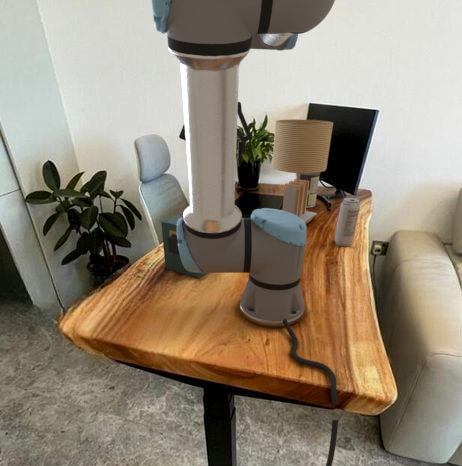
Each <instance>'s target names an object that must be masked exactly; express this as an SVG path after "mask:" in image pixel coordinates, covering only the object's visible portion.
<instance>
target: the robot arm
mask: <svg viewBox="0 0 462 466" xmlns="http://www.w3.org/2000/svg"><path fill="white" fill-rule="evenodd" d="M335 1H336V0H151V7H152V8H151V9H152V14H153V15H152V16H153V24H154V25H153V26H154V28H155V30H156V31H157V32H159V33H160V34H166V36H167V37H166V39H167V48H168V51H169V53H171V54H172V55H173V56H174V58H176V60H177V61H178V63H179V66H180V76H181V77H180V79H181V93H182V107H183V120H184V121H183V122H184V123H183V126H182V127H181V131H180V132H179V136H178V138H179V139H180V140H183V141H184V142H185V149H186V162H187V163H186V165H187V179H188V180H187V181H188V194H189V205H188V206H187V207H186V208H185V209H184V211H183V213H182V216H183V217H182V218H180V219H179V220H178V222H177V240H178V249H179V254H180V258H181V261H182V264H183V266H184V268H185V269H186V270H187V271H189V272H195V273H205V275H206V274H248V280H247V282H246V285H245V287H244V289H243V292H242V294H241V297H240V300H239V312H240V315H242V317H243V318H244V319H246V320H247V321H248V322H250V323H252V324H254V325H256V326H260V327H264V328H272V329H277V328H278V329H279V328H285V329H286V331H287V333H288V334H289V336H290V338H291V340H292V347H291V350H290V355H291V357H292V358H293V359H294V361H296V362H297V363H299V364H301V365H305V366H310V367H314V368H317V369H320V370H323V371H324V372H325V373H326V374H327V375H328V376H329V380H330V397H331V403H332V405H333V406H338V404H339V401H338V390H337V386H338V385H337V377H336V375H335V373H334V372H333V370H332V369H331V368H330V367H328V365H326V364H324V363H322V362H319V361H316V360H315V361H314V360H310V359H306V358H302V357H301V356H299V355H298V354H297V349H298V344H299V341H298V338H297V336H296V334H295V332H294V330H293V328H292V326H293V325H296V324H297V323H299V322H300V321H301V320H302V319H303V317H304V316H305V315H304V314H305V309H306V304H305V300H304V295H303V289H302V286H301V277H302V273H303V272H302V271H303V263H304V258H305V249H306V245H307V233H308V232H307V229H308V228H307V224H305V222H304V221H303V220H302V219H301V218H300V217H298V216H296V215H294V214H292V213H289V212H286V211H282V210H283V209H277V208H268V207H263V208H257V209H254V210H252V212H251V214H250V217H243V214H242V210H241V209H240V208H239V207H238V206H237V205H236V204H235V201H236V200H235V197H236V173H237V172H236V171H237V167H238V168H241V167H242V155H245V154H246V143H247V142H248V141H250V140H252V139H253V136H252V132H251V130H250V128H249V126H248V123H247V120H246V118H245V116H244V113H243V111H242V102H241V101H239V81H240V80H239V79H240V77H239V76H240V64H241V63H242V61H243V60H244V59H245V58H246V57H247V56H248V55H249V53H250V52H251V50H267V51H268V50H270V51H280V52H281V51H285V50H286V51H288V50H290V51H291V50H293V49H295V47H296V44H297V42H298V38H299V35H301V34H304V33H308V32H309V31H311V30H313V29H314V28H316V27H317V26H319V25H320V24H321V23H322V22H323V21H324V20H325V19H326V18H327V16H328V14H329V13H330V12H331V10H332V8H333V6H334V5H335ZM238 118H239V121H240V123H241V125H242V128H243V131H244V133H245V135H243V133H242V132H241V130H240V129H239V128H238ZM238 138H239V140H238V141H237V139H238ZM236 166H237V167H236ZM338 429H339V420H338V419H331V432H330V441H329V450H328V454H327V459H326V464H325V466H333V462H334V458H335V452H336V446H337V438H338Z"/></svg>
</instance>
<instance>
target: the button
mask: <svg viewBox="0 0 462 466" xmlns="http://www.w3.org/2000/svg"><path fill="white" fill-rule="evenodd" d="M168 250H169V252H171V253H175V254H178V255H180V254H179V249H178V240H177V235H173V236H170V237H168Z"/></svg>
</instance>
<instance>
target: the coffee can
mask: <svg viewBox="0 0 462 466" xmlns="http://www.w3.org/2000/svg"><path fill="white" fill-rule="evenodd" d="M296 175H297V173H295V176H296ZM320 176H321V172H319V173H300V179H299V180H306V181H309V189H308V197H307V204H306V209H309V208H314V207H316V202H317V197H318V189H319V181H320Z"/></svg>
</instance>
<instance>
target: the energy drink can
mask: <svg viewBox="0 0 462 466" xmlns="http://www.w3.org/2000/svg"><path fill="white" fill-rule="evenodd" d="M360 208H361V204H360V199H358V198H356V197H344V198H343V200H342V202H341V203H340V206H339V212H338V218H337V222H336V228H335V235H334V242H335V245H337V246H340V247H350V246H351V244H353V243H354V238H355V233H356V228H357V223H358V218H359V214H360Z"/></svg>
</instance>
